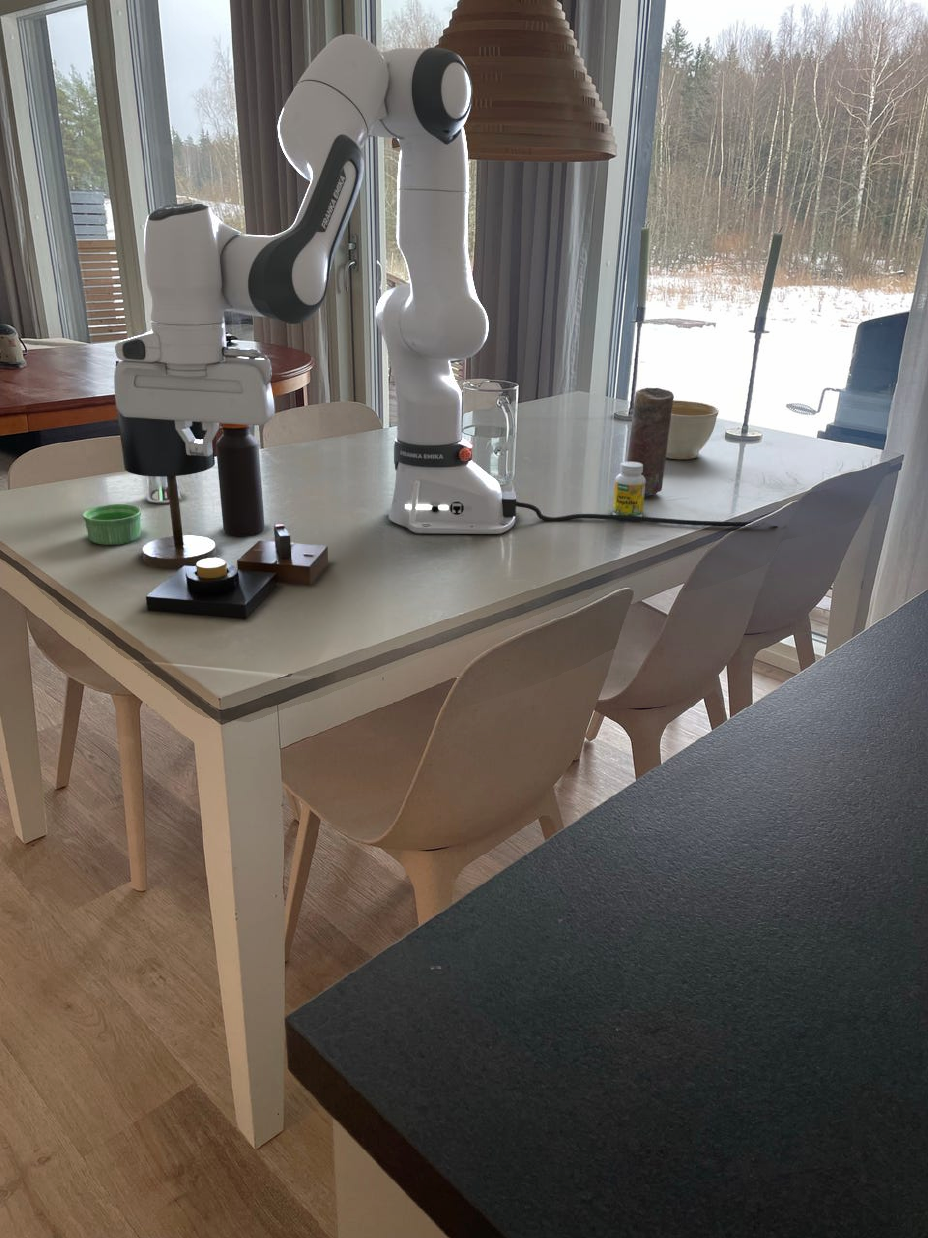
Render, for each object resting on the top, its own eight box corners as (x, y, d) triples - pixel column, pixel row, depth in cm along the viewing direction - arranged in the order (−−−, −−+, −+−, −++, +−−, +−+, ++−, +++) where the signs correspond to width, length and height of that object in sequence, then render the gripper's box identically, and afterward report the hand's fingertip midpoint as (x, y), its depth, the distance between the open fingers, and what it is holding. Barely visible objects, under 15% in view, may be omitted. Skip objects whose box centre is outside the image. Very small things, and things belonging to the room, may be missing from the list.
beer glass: (172, 505, 169) (163, 423, 163) (137, 502, 170) (127, 420, 164) (190, 495, 175) (182, 415, 169) (156, 492, 176) (147, 413, 170)
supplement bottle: (643, 513, 171) (649, 461, 167) (640, 521, 166) (645, 469, 162) (614, 510, 172) (619, 459, 168) (609, 518, 167) (614, 466, 163)
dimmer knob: (291, 557, 137) (290, 533, 135) (281, 558, 136) (279, 534, 135) (285, 546, 141) (283, 523, 139) (275, 547, 140) (273, 524, 139)
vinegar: (270, 532, 156) (262, 413, 148) (231, 539, 153) (220, 417, 145) (256, 521, 161) (247, 405, 153) (218, 527, 158) (207, 409, 150)
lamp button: (231, 570, 130) (230, 558, 129) (220, 581, 126) (219, 568, 126) (204, 568, 130) (203, 556, 130) (192, 578, 127) (191, 566, 126)
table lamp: (235, 545, 150) (223, 398, 140) (202, 574, 138) (186, 415, 129) (160, 539, 152) (142, 394, 142) (120, 567, 140) (99, 410, 130)
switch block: (277, 586, 134) (275, 560, 133) (246, 620, 123) (244, 592, 122) (185, 579, 136) (182, 553, 135) (147, 611, 125) (143, 583, 124)
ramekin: (89, 549, 147) (85, 523, 145) (83, 532, 154) (80, 507, 152) (147, 542, 150) (144, 516, 149) (140, 526, 158) (137, 501, 156)
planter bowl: (627, 455, 211) (631, 406, 206) (662, 443, 222) (667, 397, 218) (690, 468, 201) (697, 417, 197) (724, 455, 213) (731, 407, 208)
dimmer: (328, 564, 143) (327, 544, 142) (310, 585, 135) (309, 565, 134) (260, 558, 145) (259, 539, 143) (238, 579, 136) (236, 559, 135)
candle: (666, 492, 184) (678, 389, 176) (657, 501, 178) (668, 395, 169) (628, 486, 187) (638, 385, 178) (618, 496, 180) (628, 391, 172)
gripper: (278, 346, 117) (284, 454, 123) (127, 338, 120) (139, 444, 126) (260, 352, 112) (267, 465, 117) (102, 344, 114) (115, 455, 120)
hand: (199, 454), depth 121 cm, fingers closed
